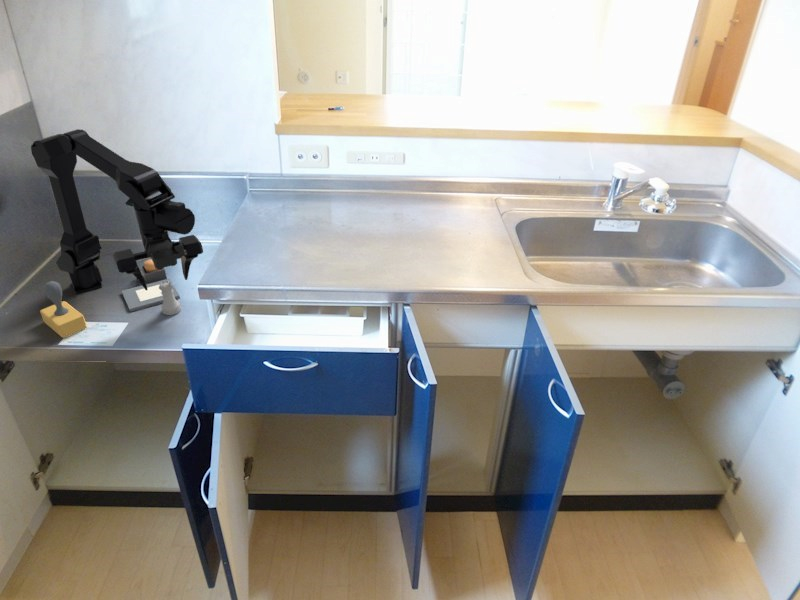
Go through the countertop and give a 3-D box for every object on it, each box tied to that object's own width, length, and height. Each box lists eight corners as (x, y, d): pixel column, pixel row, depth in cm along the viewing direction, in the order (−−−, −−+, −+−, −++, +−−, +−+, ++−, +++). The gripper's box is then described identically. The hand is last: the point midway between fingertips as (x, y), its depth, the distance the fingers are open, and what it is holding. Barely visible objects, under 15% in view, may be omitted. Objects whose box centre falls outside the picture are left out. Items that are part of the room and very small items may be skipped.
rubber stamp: (88, 328, 133) (73, 284, 126) (62, 339, 129) (46, 294, 122) (68, 312, 138) (53, 270, 132) (44, 322, 134) (26, 279, 128)
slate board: (130, 311, 139) (129, 308, 138) (122, 293, 146) (121, 290, 145) (180, 298, 144) (179, 295, 144) (169, 281, 151) (169, 278, 151)
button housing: (146, 284, 150) (144, 274, 148) (142, 275, 153) (139, 266, 152) (167, 279, 152) (164, 269, 150) (162, 271, 156) (159, 261, 154)
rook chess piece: (163, 317, 137) (156, 289, 132) (161, 308, 140) (154, 281, 136) (182, 313, 138) (176, 285, 134) (179, 304, 142) (173, 276, 137)
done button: (147, 274, 149) (145, 266, 148) (144, 269, 152) (142, 261, 150) (161, 271, 151) (159, 263, 150) (158, 265, 153) (156, 257, 152)
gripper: (114, 249, 117) (132, 311, 125) (204, 229, 125) (215, 288, 134) (104, 229, 125) (122, 289, 133) (190, 211, 133) (201, 269, 142)
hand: (166, 284), depth 135 cm, fingers open, 9 cm apart
